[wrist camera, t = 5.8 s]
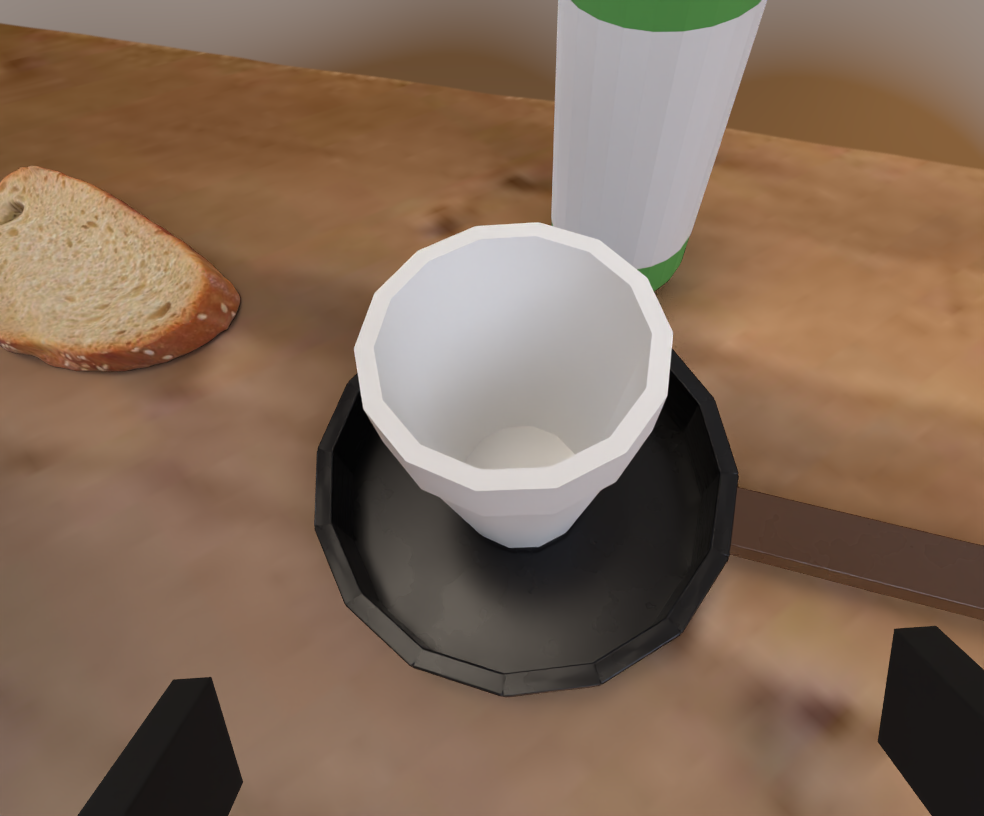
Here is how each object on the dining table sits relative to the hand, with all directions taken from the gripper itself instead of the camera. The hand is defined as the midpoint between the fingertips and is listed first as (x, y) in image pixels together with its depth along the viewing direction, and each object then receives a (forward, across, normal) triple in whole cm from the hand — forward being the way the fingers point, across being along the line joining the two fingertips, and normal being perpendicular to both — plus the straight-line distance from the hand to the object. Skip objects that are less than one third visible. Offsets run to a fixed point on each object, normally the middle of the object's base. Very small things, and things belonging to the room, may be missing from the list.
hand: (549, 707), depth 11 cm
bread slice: (+29, +26, -8) cm, 40 cm away
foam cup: (+17, 0, +4) cm, 18 cm away
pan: (+16, -6, +5) cm, 18 cm away
